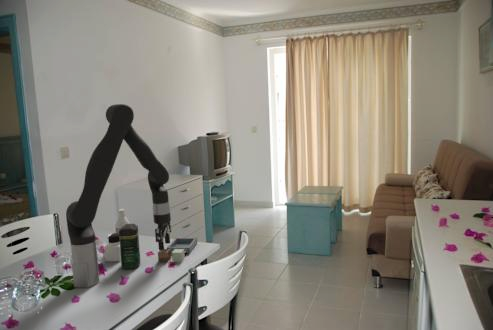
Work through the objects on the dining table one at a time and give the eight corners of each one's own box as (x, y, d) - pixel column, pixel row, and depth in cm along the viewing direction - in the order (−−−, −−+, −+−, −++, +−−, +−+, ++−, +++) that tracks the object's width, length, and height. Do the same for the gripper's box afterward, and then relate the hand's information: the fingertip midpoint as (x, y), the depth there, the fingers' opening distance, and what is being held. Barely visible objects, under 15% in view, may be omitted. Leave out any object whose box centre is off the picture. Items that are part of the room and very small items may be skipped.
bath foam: (123, 245, 205) (120, 207, 202) (134, 246, 202) (131, 208, 200) (114, 250, 198) (111, 211, 196) (126, 251, 196) (122, 211, 193)
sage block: (182, 262, 179) (181, 252, 178) (172, 262, 179) (171, 252, 179) (184, 258, 183) (184, 249, 183) (175, 258, 184) (174, 249, 183)
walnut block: (168, 262, 180) (167, 252, 179) (158, 262, 180) (157, 252, 180) (171, 258, 184) (170, 249, 183) (161, 258, 185) (161, 249, 184)
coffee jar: (138, 269, 173) (135, 227, 170) (120, 270, 172) (116, 229, 169) (142, 261, 182) (139, 221, 180) (124, 262, 181) (121, 222, 179)
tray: (189, 254, 188) (189, 248, 188) (166, 254, 190) (166, 248, 189) (197, 243, 203) (196, 237, 203) (176, 243, 204) (175, 237, 204)
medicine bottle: (126, 256, 189) (124, 231, 188) (120, 261, 182) (118, 236, 181) (112, 256, 190) (109, 231, 188) (105, 261, 183) (103, 236, 181)
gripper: (164, 216, 172) (167, 252, 174) (174, 207, 186) (177, 241, 188) (147, 216, 173) (151, 252, 175) (159, 208, 187) (162, 241, 189)
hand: (164, 246), depth 181 cm, fingers open, 8 cm apart
